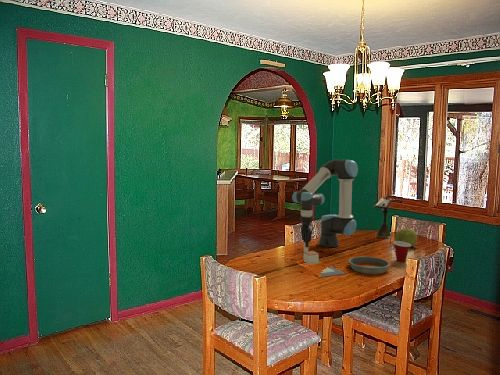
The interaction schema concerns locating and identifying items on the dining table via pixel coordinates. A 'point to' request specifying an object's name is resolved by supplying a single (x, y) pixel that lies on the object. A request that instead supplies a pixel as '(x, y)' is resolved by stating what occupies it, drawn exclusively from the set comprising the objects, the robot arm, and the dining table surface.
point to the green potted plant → (406, 236)
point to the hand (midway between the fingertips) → (305, 251)
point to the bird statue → (384, 229)
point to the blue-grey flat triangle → (331, 272)
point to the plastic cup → (401, 250)
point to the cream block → (311, 257)
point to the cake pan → (369, 269)
